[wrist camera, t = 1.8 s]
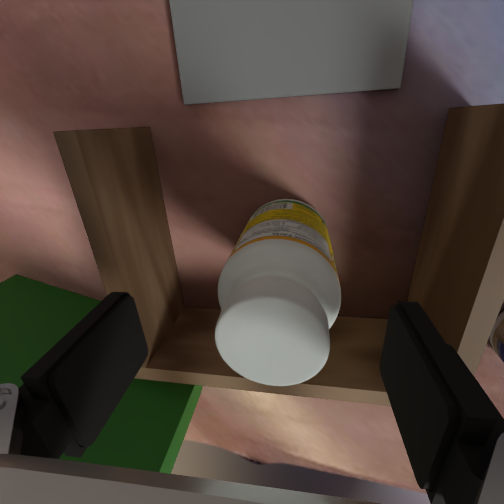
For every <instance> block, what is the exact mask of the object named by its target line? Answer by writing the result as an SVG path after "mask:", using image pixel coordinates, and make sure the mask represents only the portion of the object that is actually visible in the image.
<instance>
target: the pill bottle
mask: <svg viewBox="0 0 504 504" xmlns="http://www.w3.org/2000/svg"><path fill="white" fill-rule="evenodd" d="M490 342H491V345H492V347H493V349H494V351H495V352H496V353H497V355H498V356H499V357H500V358H501V360H502V361H503V362H504V311H503V312H502V313H501V314H500V315H499V316H498V317H497V319H496V321H495V324H494V326H493V329H492V331H491V334H490Z"/></svg>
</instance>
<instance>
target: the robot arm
mask: <svg viewBox="0 0 504 504" xmlns="http://www.w3.org/2000/svg"><path fill="white" fill-rule="evenodd" d="M147 356H148V346H147V342H146V339H145V335H144V332H143V328H142V325H141V321H140V318H139V314H138V311H137V307H136V304H135V300H134V298H133V297H132V296H130V294H129V293H127V292H111V293H110V294H108V295H107V296H106V297H105V298H104V299H103V300H102V301H101V302H100V303H99V304H98V305H97V306H96V307H95V308H94V309H92V310H91V311H90V312H89V313H88V314H87V315H86V316H85V317H84V318H83V319H82V320H81V321H80V322H79V323H78V324H76V325H75V326H74V327H73V328H72V329H71V330H70V331H69V332H68V333H67V334H66V335H65V336H64V337H63V338H62V339H60V340H59V341H58V342H57V343H56V344H55V345H54V346H53V347H52V348H51V349H50V350H49V351H48V352H47V353H46V354H44V355H43V356H42V357H41V358H40V359H39V360H38V361H37V362H36V363H35V364H34V365H33V366H32V367H31V368H29V369H28V370H27V371H26V372H25V373H24V374H23V375H22V376H21V377H20V378H21V380H22V381H23V383H24V384H23V385H22V386H21V387H20V388H18V387H17V386H16V385H15V384H11V383H6V384H0V504H379V503H373V502H366V501H360V500H354V499H348V498H340V497H334V496H327V495H319V494H312V493H305V492H298V491H291V490H284V489H277V488H270V487H263V486H256V485H249V484H242V483H234V482H227V481H219V480H212V479H205V478H197V477H190V476H183V475H176V474H168V473H161V472H153V471H146V470H139V469H131V468H123V467H115V466H108V465H100V464H92V463H85V462H77V461H69V460H62V459H59V458H60V457H61V455H62V454H63V452H64V454H65V456H72V457H79V458H81V457H82V455H83V454H84V452H85V450H86V449H87V447H89V446H91V445H92V444H93V443H94V442H95V440H96V439H97V437H98V435H99V434H100V432H101V431H102V429H103V427H104V426H105V424H106V423H107V421H108V419H109V418H110V416H111V415H112V413H113V411H114V410H115V408H116V407H117V405H118V403H119V402H120V400H121V399H122V397H123V395H124V394H125V392H126V390H127V389H128V387H129V386H130V384H131V382H132V381H133V379H134V378H135V376H136V374H137V373H138V371H139V370H140V368H141V366H142V365H143V363H144V362H145V360H146V358H147ZM380 374H381V377H382V380H383V383H384V386H385V389H386V392H387V395H388V398H389V401H390V404H391V407H392V410H393V413H394V416H395V419H396V422H397V425H398V428H399V431H400V433H401V436H402V439H403V442H404V445H405V448H406V451H407V454H408V457H409V460H410V463H411V466H412V469H413V472H414V475H415V478H416V481H417V483H418V485H419V487H420V488H421V489H426V491H427V494H428V497H429V500H430V503H431V504H504V419H503V417H502V416H501V415H500V413H499V412H498V410H497V409H496V407H495V406H494V404H493V403H492V402H491V400H490V399H489V397H488V396H487V394H486V393H485V392H484V390H483V389H482V387H481V386H480V384H479V383H478V382H477V380H476V379H475V377H474V376H473V374H472V373H471V372H470V370H469V369H468V367H467V366H466V364H465V363H464V362H463V360H462V359H461V357H460V356H459V354H458V353H457V352H456V350H455V349H454V348H453V347H452V346H451V345H449V344H446V342H445V341H444V339H443V338H442V336H441V335H440V333H439V332H438V330H437V329H436V327H435V326H434V324H433V323H432V322H431V320H430V319H429V317H428V316H427V314H426V313H425V311H424V310H423V308H422V307H421V305H420V304H419V303H418V302H409V301H398V302H397V304H396V305H392V306H391V308H390V313H389V318H388V323H387V328H386V333H385V339H384V344H383V349H382V354H381V360H380Z"/></svg>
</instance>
